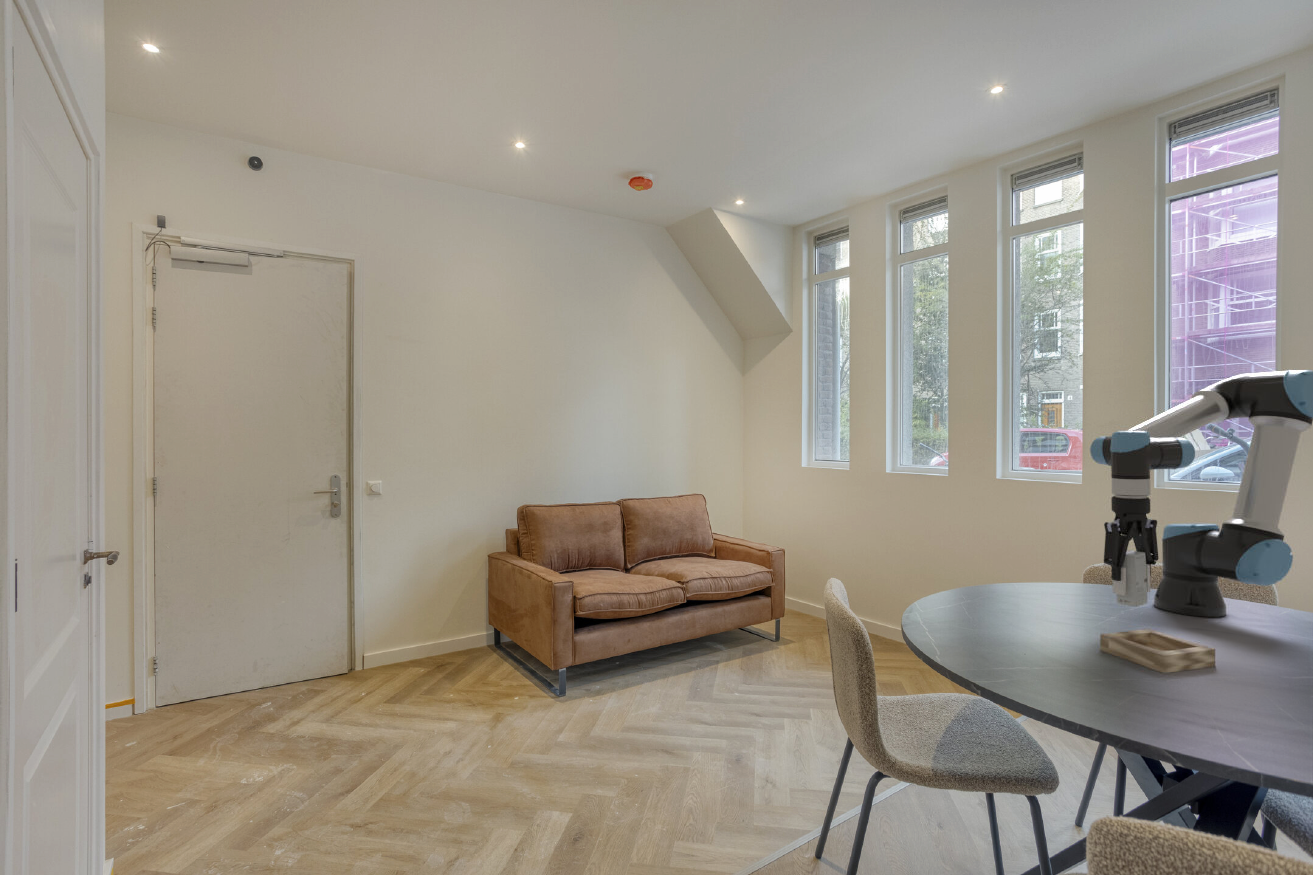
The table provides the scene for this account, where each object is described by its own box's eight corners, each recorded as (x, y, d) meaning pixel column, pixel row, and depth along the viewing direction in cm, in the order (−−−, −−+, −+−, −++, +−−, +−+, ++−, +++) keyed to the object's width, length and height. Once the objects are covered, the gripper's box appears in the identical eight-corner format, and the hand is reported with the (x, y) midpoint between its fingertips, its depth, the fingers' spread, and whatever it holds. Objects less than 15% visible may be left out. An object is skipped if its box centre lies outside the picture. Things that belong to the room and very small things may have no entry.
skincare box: (1137, 607, 154) (1136, 555, 154) (1115, 603, 158) (1114, 553, 158) (1148, 602, 158) (1147, 552, 157) (1127, 598, 162) (1126, 549, 161)
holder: (1148, 644, 150) (1148, 628, 150) (1215, 665, 137) (1215, 649, 137) (1100, 650, 147) (1100, 634, 147) (1164, 673, 133) (1164, 655, 133)
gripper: (1146, 491, 164) (1147, 584, 164) (1083, 496, 158) (1084, 592, 159) (1177, 495, 156) (1178, 591, 157) (1113, 500, 151) (1114, 600, 152)
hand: (1131, 592), depth 158 cm, fingers closed on skincare box, 7 cm apart
